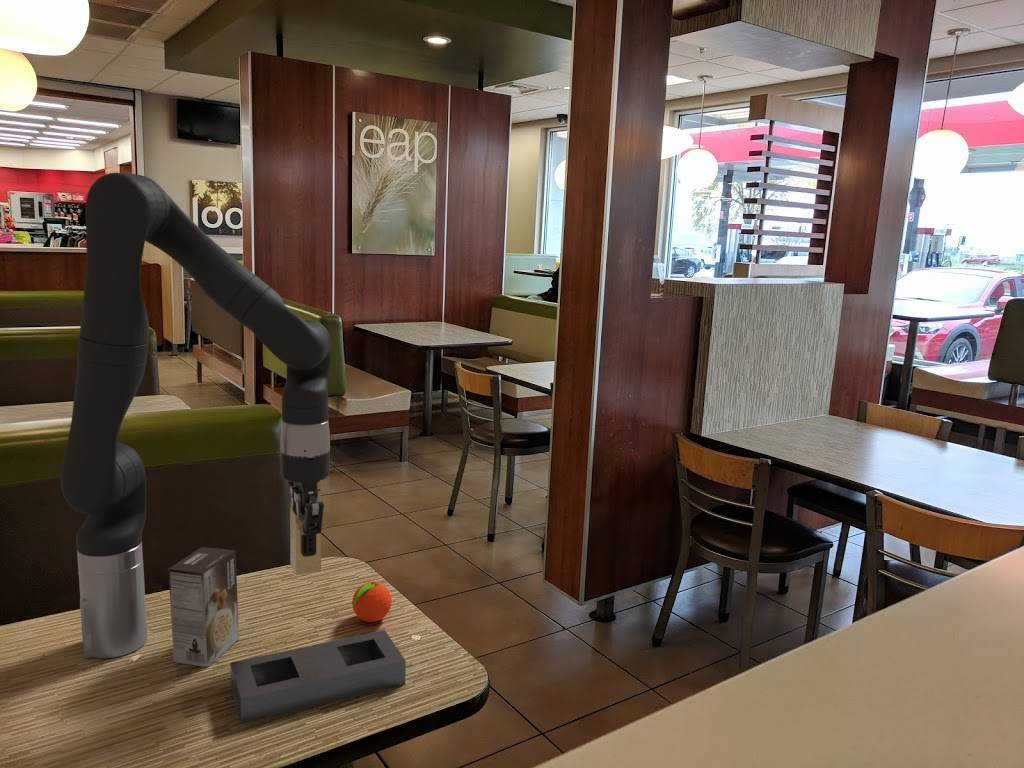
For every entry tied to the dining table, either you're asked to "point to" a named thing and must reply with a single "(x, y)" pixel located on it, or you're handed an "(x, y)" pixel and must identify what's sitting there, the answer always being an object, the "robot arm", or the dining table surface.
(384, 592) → the clementine
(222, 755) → the dining table surface
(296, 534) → the peg
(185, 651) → the coffee box
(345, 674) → the rail
